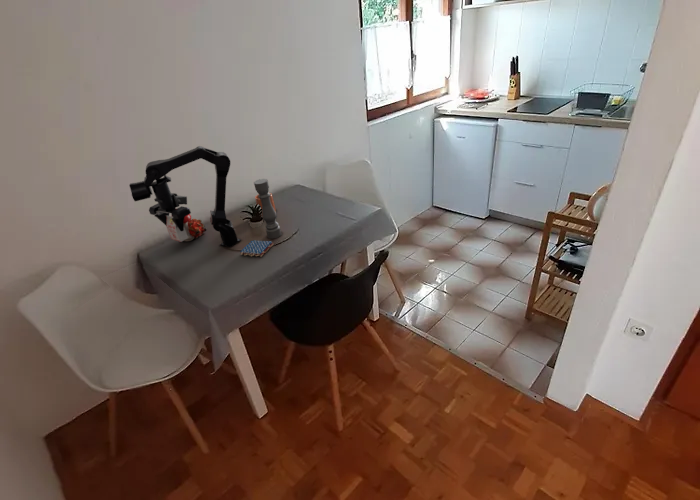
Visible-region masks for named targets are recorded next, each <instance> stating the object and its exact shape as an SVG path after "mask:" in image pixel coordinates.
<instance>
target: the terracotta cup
mask: <svg viewBox="0 0 700 500" xmlns="http://www.w3.org/2000/svg"><path fill="white" fill-rule="evenodd" d="M268 193H270V195H271V196H270V201H271V204H272V206H273V208H274V210H275V212H276V213H277V208H276V204H275V201H274V197H273V193H272V192H268ZM258 195H259V194H258V193H257V194H256V195H255V196H254V199H255V203H256V206H257V205H258V204H259V205H260V206H261V209H262V203H261V199H259V198H258Z"/></svg>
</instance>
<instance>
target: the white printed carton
mask: <svg viewBox="0 0 700 500" xmlns="http://www.w3.org/2000/svg"><path fill="white" fill-rule="evenodd" d="M171 216H172V215H169V216H168V215H167V216H166V217H167V223H166V225H165V226H166V229H167V231H168V234H169V237H170V239H171V240H174V241H176V242H179V243H180V242H181V243H182V242H184V241H183V240H185V239H187V238H188V236H187V233H186V230H185V228H184V230H183V231H180V230H179V228H178V227H177V226H176V224H175V223H174V222H173V221H172V218H173V217H171Z"/></svg>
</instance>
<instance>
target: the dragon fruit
mask: <svg viewBox="0 0 700 500" xmlns="http://www.w3.org/2000/svg"><path fill="white" fill-rule="evenodd" d="M187 224H188V229H189V234H190V235H191V236H194V239H198V238H199V237H202V236H203V234H204V233H205V232H206V231H207V227H205V224H204V223H202V220H201V219H197V218H191V220H190V221H189V222H187Z"/></svg>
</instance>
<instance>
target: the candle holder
mask: <svg viewBox="0 0 700 500" xmlns="http://www.w3.org/2000/svg"><path fill="white" fill-rule="evenodd" d="M253 185H254V189H255V191H256V193H257V195H258V194H259V195H258V198H259V199H261V203H262V216H261V218H262V220H263V221H264V222H265V223H266V224H265V232H266V236H267V238H268V239H270V240H271V239H277V238H279V237H281V236H282V231H281V226H280V225H279V222H278V221H277V217H278V215H277V211H276V212H275V210H274V208H273V206H272V204H271V201H270V196H271V195H270V193H271V192H269V190H270V185H269V181H268V178H259V179H256V180H255V181H253ZM268 192H269V193H268Z"/></svg>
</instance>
